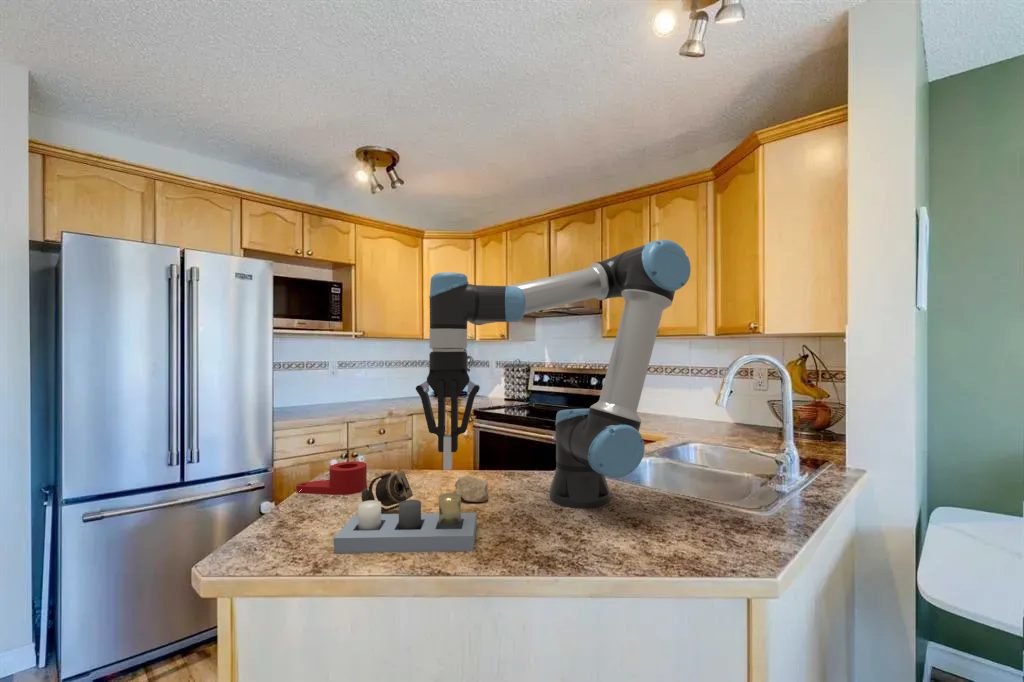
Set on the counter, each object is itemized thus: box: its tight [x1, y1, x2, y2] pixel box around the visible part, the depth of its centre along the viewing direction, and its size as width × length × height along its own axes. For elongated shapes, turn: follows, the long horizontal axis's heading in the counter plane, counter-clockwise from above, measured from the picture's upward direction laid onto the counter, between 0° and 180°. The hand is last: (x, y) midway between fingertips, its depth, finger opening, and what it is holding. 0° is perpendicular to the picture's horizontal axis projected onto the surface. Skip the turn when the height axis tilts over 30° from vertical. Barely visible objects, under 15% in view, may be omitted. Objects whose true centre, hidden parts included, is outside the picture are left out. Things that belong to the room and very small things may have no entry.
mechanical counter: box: [361, 470, 414, 512], centre depth 108 cm, size 7×13×10 cm, turn 78°
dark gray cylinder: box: [398, 499, 422, 530], centre depth 94 cm, size 4×4×5 cm
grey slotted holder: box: [333, 512, 478, 554], centre depth 94 cm, size 26×12×3 cm, turn 91°
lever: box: [295, 460, 368, 496], centre depth 125 cm, size 18×9×7 cm, turn 97°
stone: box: [454, 475, 489, 503], centre depth 119 cm, size 8×10×4 cm
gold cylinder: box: [438, 492, 462, 526], centre depth 94 cm, size 4×4×5 cm
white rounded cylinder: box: [357, 499, 382, 531], centre depth 94 cm, size 4×4×5 cm
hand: (447, 468), depth 94 cm, fingers closed
